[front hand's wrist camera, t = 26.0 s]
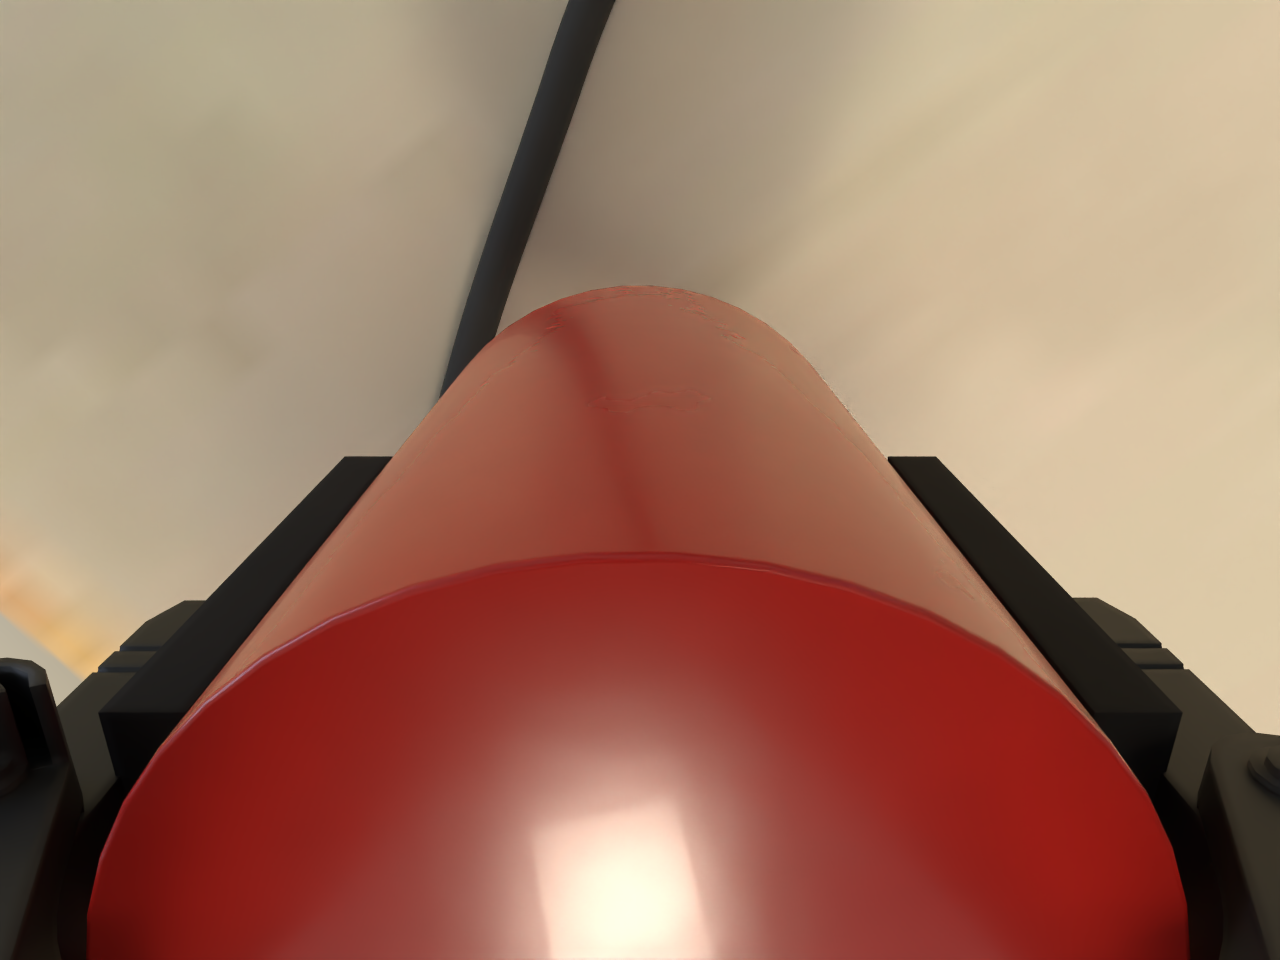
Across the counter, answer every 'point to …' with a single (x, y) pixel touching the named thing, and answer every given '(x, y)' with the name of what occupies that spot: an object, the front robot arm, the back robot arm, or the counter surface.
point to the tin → (638, 699)
